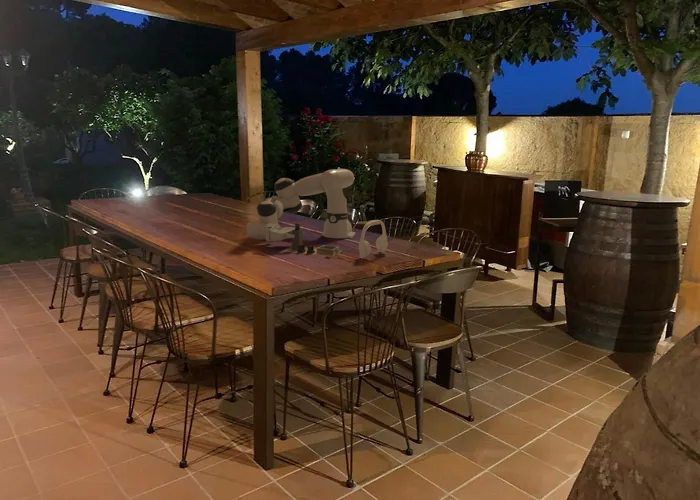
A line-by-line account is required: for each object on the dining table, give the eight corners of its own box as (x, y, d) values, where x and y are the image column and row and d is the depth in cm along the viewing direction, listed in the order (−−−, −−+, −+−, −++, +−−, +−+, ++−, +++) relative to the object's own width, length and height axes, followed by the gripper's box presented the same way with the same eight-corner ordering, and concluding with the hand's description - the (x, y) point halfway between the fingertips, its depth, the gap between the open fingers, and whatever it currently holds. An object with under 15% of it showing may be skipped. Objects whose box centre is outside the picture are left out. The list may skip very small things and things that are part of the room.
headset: (366, 260, 265) (368, 223, 262) (354, 258, 269) (355, 221, 266) (389, 253, 281) (391, 219, 277) (378, 251, 285) (379, 217, 281)
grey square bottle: (295, 248, 284) (295, 222, 282) (302, 248, 283) (302, 223, 280) (292, 249, 281) (292, 224, 278) (299, 250, 279) (299, 224, 277)
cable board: (294, 247, 291) (294, 238, 290) (342, 252, 282) (342, 243, 281) (280, 252, 277) (280, 243, 276) (330, 258, 267) (330, 249, 266)
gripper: (284, 235, 295) (307, 237, 290) (264, 241, 276) (289, 244, 271) (284, 223, 294) (307, 225, 289) (264, 229, 275) (289, 231, 270)
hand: (298, 234), depth 280 cm, fingers open, 8 cm apart
